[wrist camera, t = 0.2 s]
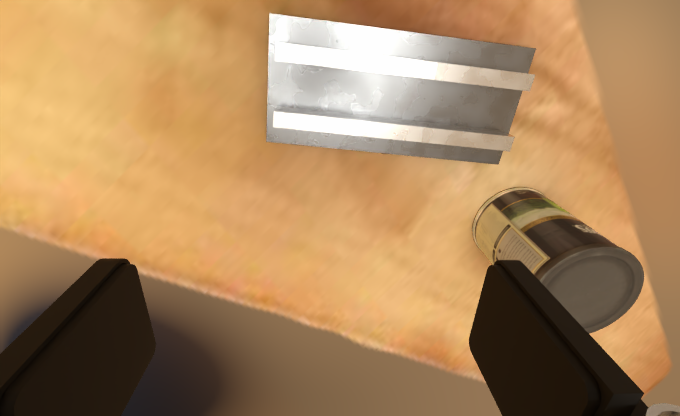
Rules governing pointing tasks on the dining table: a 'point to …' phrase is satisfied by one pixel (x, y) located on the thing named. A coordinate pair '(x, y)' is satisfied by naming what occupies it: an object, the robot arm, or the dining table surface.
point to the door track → (392, 90)
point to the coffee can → (560, 255)
